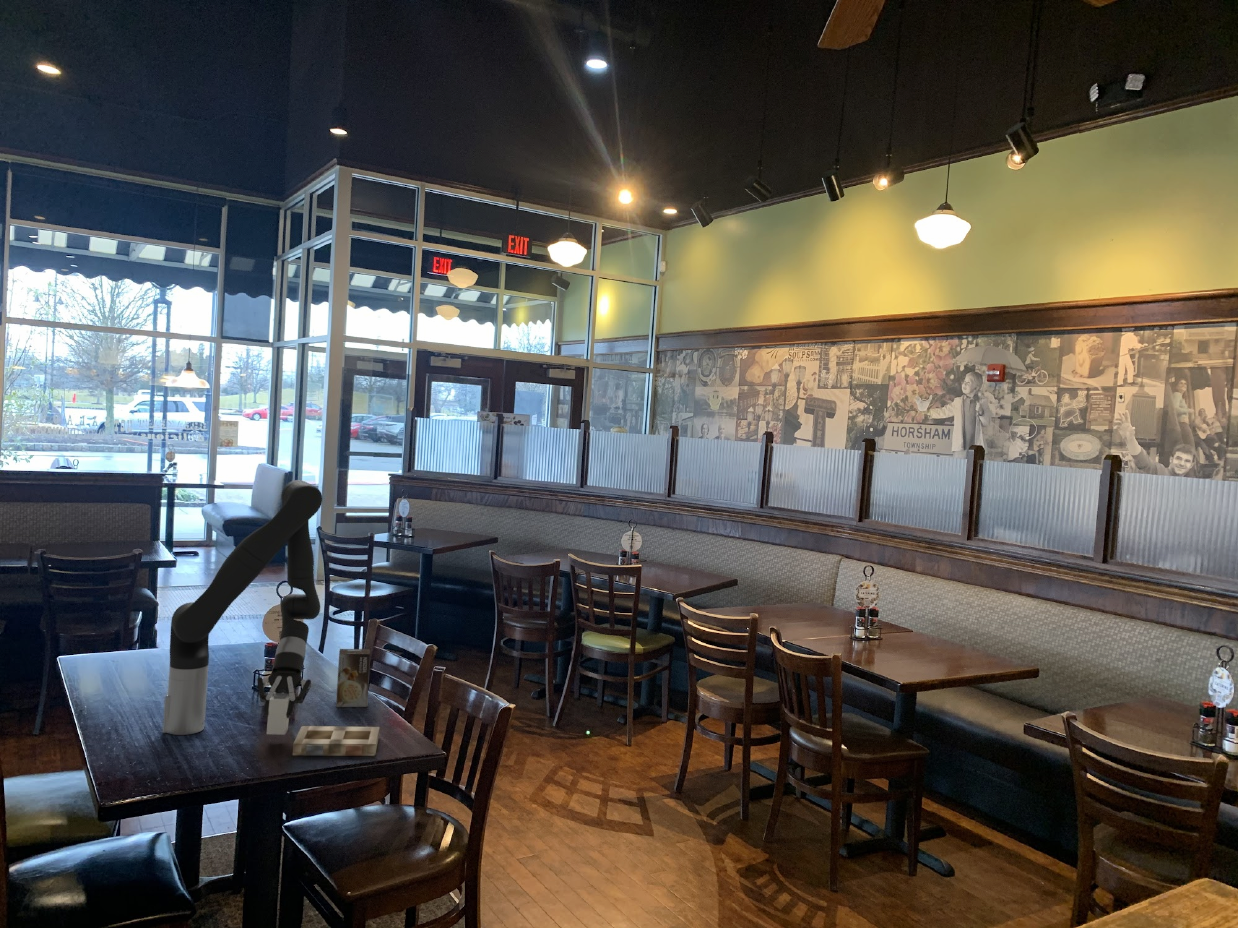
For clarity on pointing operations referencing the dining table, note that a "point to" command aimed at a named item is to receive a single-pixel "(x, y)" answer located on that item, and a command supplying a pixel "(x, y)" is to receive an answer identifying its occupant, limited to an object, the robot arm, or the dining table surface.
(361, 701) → the coffee box
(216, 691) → the dining table surface
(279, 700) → the white tall rectangular block
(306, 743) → the socket board
